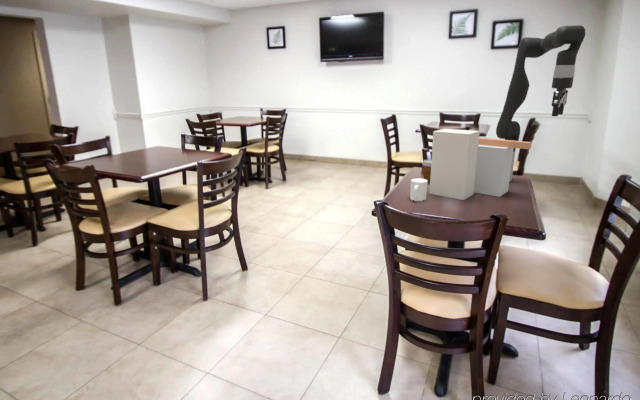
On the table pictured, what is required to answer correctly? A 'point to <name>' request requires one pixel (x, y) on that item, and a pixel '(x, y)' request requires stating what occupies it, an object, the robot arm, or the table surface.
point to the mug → (418, 189)
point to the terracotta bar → (505, 143)
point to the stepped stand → (468, 165)
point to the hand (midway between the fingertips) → (557, 115)
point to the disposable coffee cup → (427, 170)
